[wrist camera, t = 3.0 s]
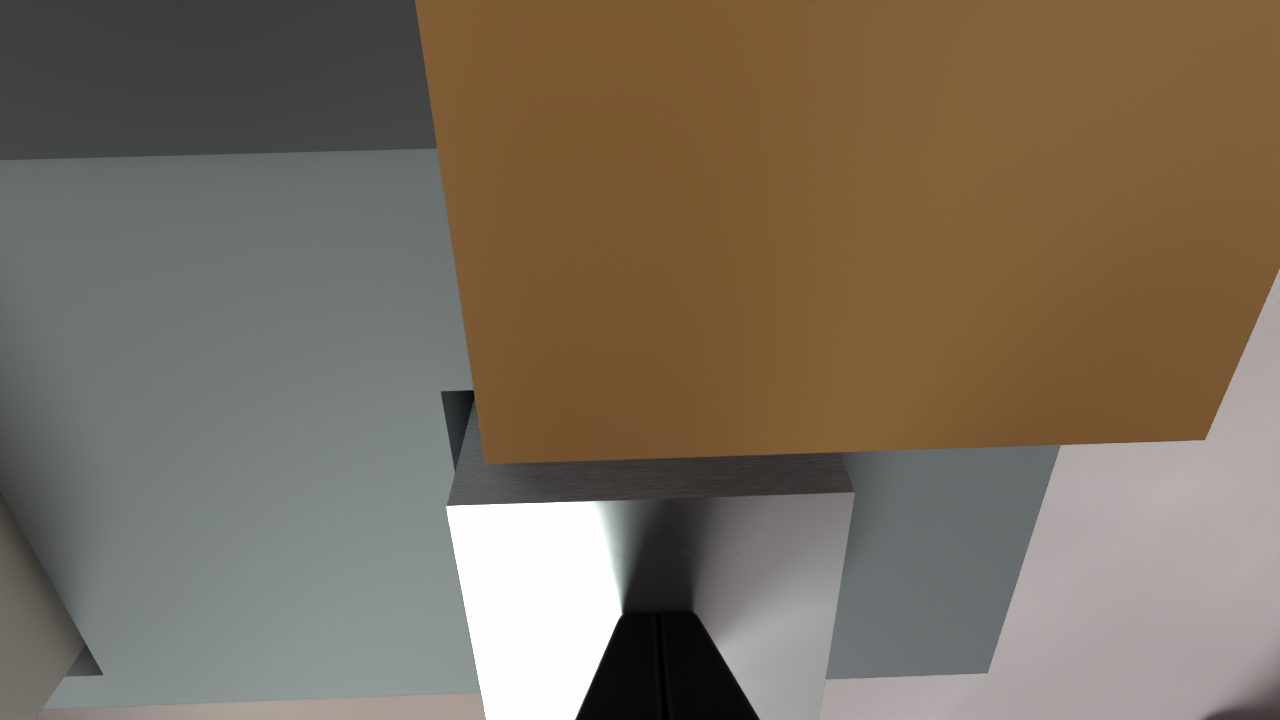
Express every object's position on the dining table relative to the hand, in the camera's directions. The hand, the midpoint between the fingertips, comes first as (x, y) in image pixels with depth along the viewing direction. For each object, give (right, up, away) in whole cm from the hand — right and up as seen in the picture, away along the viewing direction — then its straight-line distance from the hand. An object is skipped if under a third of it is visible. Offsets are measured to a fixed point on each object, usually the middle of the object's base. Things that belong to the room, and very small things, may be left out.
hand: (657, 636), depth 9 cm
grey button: (0, +2, +3) cm, 3 cm away
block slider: (+1, +6, -2) cm, 6 cm away
